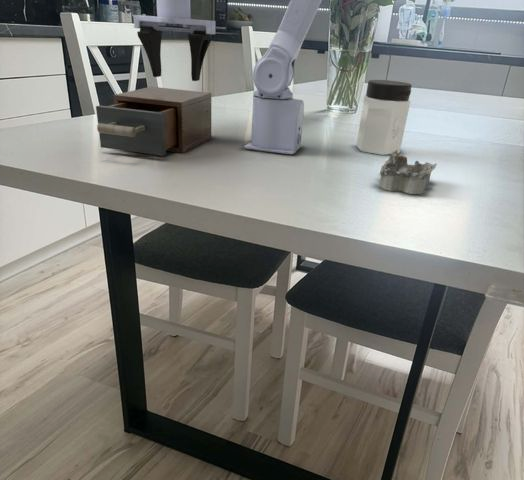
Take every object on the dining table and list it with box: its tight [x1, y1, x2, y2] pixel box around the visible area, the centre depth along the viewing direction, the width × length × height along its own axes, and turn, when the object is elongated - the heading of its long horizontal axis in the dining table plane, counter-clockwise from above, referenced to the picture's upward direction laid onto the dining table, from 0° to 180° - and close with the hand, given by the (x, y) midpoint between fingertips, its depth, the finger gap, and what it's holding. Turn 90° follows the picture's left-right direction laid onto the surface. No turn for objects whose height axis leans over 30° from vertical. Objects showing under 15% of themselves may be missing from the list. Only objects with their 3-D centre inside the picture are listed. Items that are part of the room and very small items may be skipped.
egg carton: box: [378, 150, 437, 195], centre depth 76 cm, size 11×8×4 cm
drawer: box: [95, 101, 179, 157], centre depth 82 cm, size 18×11×6 cm, turn 165°
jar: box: [356, 79, 413, 156], centre depth 94 cm, size 9×8×12 cm
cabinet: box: [113, 86, 212, 154], centre depth 90 cm, size 15×13×8 cm
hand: (176, 78), depth 88 cm, fingers open, 7 cm apart
